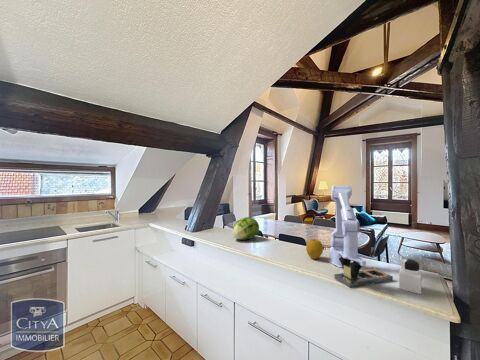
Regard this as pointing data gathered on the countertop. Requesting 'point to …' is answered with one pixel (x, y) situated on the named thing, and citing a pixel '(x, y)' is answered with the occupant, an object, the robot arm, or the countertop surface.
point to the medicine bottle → (410, 276)
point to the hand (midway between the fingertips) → (350, 275)
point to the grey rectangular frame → (368, 280)
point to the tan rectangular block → (348, 273)
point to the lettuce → (245, 228)
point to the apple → (314, 248)
